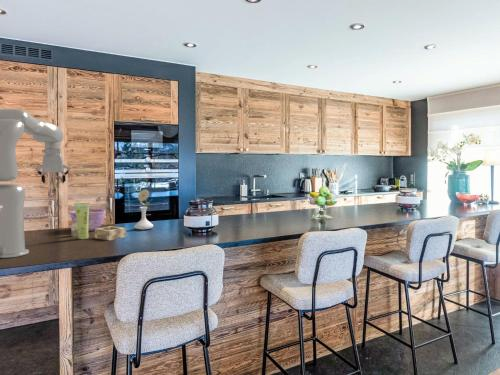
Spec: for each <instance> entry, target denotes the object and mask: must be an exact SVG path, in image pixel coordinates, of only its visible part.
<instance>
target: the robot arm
mask: <svg viewBox="0 0 500 375" xmlns="http://www.w3.org/2000/svg"><path fill="white" fill-rule="evenodd" d="M24 133H25V134H27V135H30V136H32V139H34V141H36V142H38V143H44V149H42V150H41V153H43V154H42V155H43V156H42V163H41V165H39V166H37V167H35V171H36V172H37V174H38V175H40V176H41V177H40V178H41V182H42V183H43V184H46V176H45V175H46V174H47V173H61V181H62V184H63V183H65V182H66V180H67V179H66V178H67V177H66V176H67V175H68V174H69V173H70V171H71V167H69V166H67V165H65V164H64V159H63V155H62V154H61V142H62V141H63V139H64V133H63V130H62V129H61V128H60V127H59V126H57V125H55V124H53V123H50V122H47V121H44V120H40V119H37V118H36V117H34V116H32V115H31V114H30V113H29V112H27V111H25V110H23V109H20V108H0V182H12V181H15V180H16V179H17V178H18V176H19V171H18V160H17V155H16V154H17V153H16V148H17V147H16V146H17V144H18V143H19V140H20V138H21V137H22V136H23V135H24ZM41 169H42V171H41ZM65 169H66V171H65V172H64V170H65ZM25 198H26V190H25V188H24V187H23V186H21V185H19V184H17V183H16V184H15V183H0V206H1V207H2V208H1V209H0V259H8V258H17V257H22V256H25V255H27V254H29V253H30V250H29V249H27V248H26V244H25V243H26V242H25V223H24V222H25V221H24V220H25V219H24V206H25V200H26V199H25Z"/></svg>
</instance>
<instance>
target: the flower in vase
mask: <svg viewBox="0 0 500 375" xmlns="http://www.w3.org/2000/svg"><path fill="white" fill-rule="evenodd" d="M149 196H150V191H149V190H147V189H142V190H140V192H138V196H137V200H138V201H139V203H141V204H142V205H144V206H140V207H139V209H140V211H141V218H140V220H139V221H138V222H137V223H136V224H135V225H134V226H133V227H134V228H135V229H136V230H150V229H152V228H154V224H153V223H152V222H150V221H149V220H148V219H147V216H146V215H147V214H146V213H147V209H148V206H150V205H151V204H150V202H149V201H147V199H148V198H149ZM143 201H145V203H144V202H143Z"/></svg>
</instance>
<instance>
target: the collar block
mask: <svg viewBox="0 0 500 375" xmlns="http://www.w3.org/2000/svg"><path fill="white" fill-rule="evenodd" d="M94 238H95V239H98V240H105V241H113V240H118V239H122V238H127V228H126V227H122V226H116V225H109V226H104V227H99V228H96V229H95V230H94Z"/></svg>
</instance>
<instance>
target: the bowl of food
mask: <svg viewBox="0 0 500 375" xmlns="http://www.w3.org/2000/svg"><path fill="white" fill-rule="evenodd" d="M105 214H106V209H103V208H94V209H91V208H89V217H88V232H90V231H91V232H92V231H95V229H97V228H101V226H102V225H103V223H104V220H105ZM69 215H70V217H71V221H72V223H77V217H76V210H70V212H69Z"/></svg>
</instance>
